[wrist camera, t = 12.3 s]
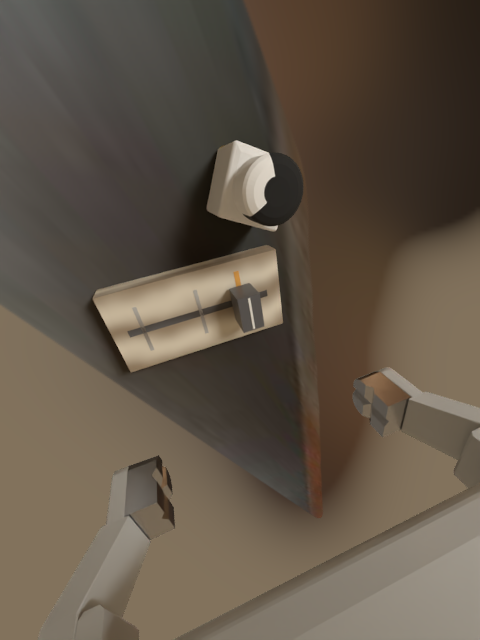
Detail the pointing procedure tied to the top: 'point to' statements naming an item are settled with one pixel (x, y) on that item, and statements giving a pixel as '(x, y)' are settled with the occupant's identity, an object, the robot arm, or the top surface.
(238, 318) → the fader knob
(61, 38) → the top surface
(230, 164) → the medicine bottle
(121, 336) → the control strip
